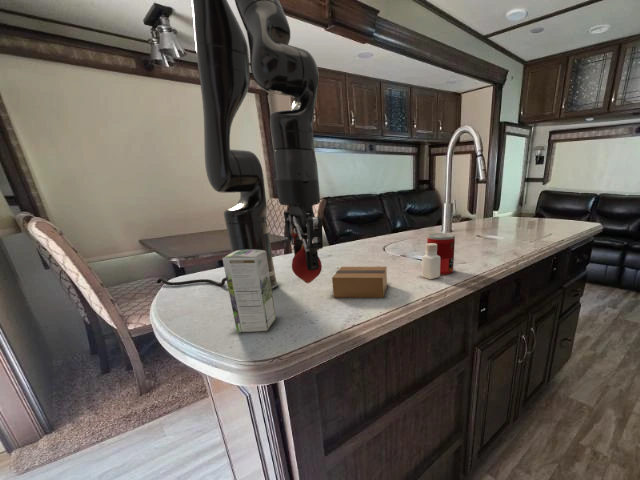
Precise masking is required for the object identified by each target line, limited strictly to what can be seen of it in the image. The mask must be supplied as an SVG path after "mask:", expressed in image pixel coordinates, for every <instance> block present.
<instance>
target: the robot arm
mask: <svg viewBox="0 0 640 480" xmlns="http://www.w3.org/2000/svg"><path fill="white" fill-rule="evenodd" d="M234 3H235V6H236V9H237V12H238V14H239V17H240V19H241V22H242V24H243V27H244V29H245V31H246V36H247V39H246V37H245V35H244V32H243V30H242V28H241V25H240V22H239V21H238V20H237V17H236V16H235V14H234V11H233V9H232V7H231V6H230V4H229V1H228V0H191V7H192V17H193V29H194V30H193V31H194V42H195V51H196V61H197V69H198V75H199V83H200V90H201V91H200V92H201V101H202V112H203V113H202V114H203V140H204V141H203V143H204V144H203V145H204V166H205V172H206V177H207V180H208V182H209V185H210V186H211V187H212V189H213V190H214V191H215V192H217V193H221V194H230V193H231V194H232V193H233V194H235V193H239V194H240V195H239V199H238V201H237V202H236V203H235V204H233V205H232V206H230V207H228V208H225V210H224V211H223V219H224V223H225V228H226V233H227V238H228V242H229V246H230V252H231V253H233V252H235V251H238V250H264V251H266V255H267V262H268V268H269V275H270V281H271V288H272V290H274V289H276V288H277V286H278V282H277V277H276V271H275V266H274V259H273V254H272V252H273V251H272V247H271V241H270V234H269V227H268V222H267V207H268V206H267V197H266V187H265V178H264V171H263V167H262V164H261V161H260V159H259V158H258V156H257V155H256V154H255V153H254V152H252V151H250V150H246V149H245V150H244V149H231V129H232V125H233V122H234V119H235V117H236V115H237V113H238V111H239V110H240V108H241V106H242V105H243V104H242V103H244V101H245V98H246V96H247V94H248V92H249V89H250V82H251V76H252V78H253V80H254V81H255V83H256V85H258V86H259V88H261V89H262V90H263V91H265V92H267V93H270V94H274V95H280V96H286V97H291V98H293V102H292V105H291V108H290V109H284V110H279V111H277V110H276V111H275V112H273V113H271V114H270V118H269V125H270V133H271V141H272V148H273V168H274V169H273V170H274V176H275V183H276V191H277V197H278V203H279V204H280V205H282V206H288V210H286V211H283V216H284V222H285V228H286V234H287V239H288V241H289V242H290V243H291V245H292V247H293V252H294V253H293V254H294V255H293V256H295V255H296V253H297V252H299V251H300V250H301V247H302V244H304V248H305V251H306V252H305V256H306V265H307V269H308V270H310V271H312V270H317V269H318V268H319V262H318V257H319V253H318V252H319V250H322V249H323V247H324V246H323V245H324V242H323V241H324V240H323V238H324V236H323V218H322V216H316V215H315V212H314V209H313V206H316V205H319V204H320V203H321V192H320V182H319V169H318V168H319V167H318V161H317V158H316V150H315V140H314V139H315V138H314V130H313V126H314V125H313V124H314V117H315V116H314V115H315V109H316V108H315V107H316V101H317V95H318V90H319V82H320V74H319V68H318V66H317V62H316V60H315V58H314V57H313V55H312V53H311V52H309V51H308V50H306V49H305V48H301V47H297V46H294V45H290V44H289V43H290V41H291V27H290V24H289V21H288V19H287V16H286V14H285V11H284V9H283V6H282V4H281V1H280V0H234ZM247 40H248V42H247ZM250 71H251V72H250ZM250 73H251V75H250ZM226 282H227V279H226V277H223V278H222V279H221V282H217V281H215V280H213V279H209V278H208V279H207V278H201V279H191V280H185V281H168V280H166V279H165V278H164V277H160V278H158V279H157V281H156V284H161V283H163V284H164V285H167V286H184V285H191V284H197V283H209V284H212V285H214V286H217V287H218V286H219V287H223V286H224V285H225V284H226Z"/></svg>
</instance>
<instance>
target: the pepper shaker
mask: <svg viewBox="0 0 640 480" xmlns="http://www.w3.org/2000/svg"><path fill="white" fill-rule="evenodd" d="M440 276H441V275H440V256H438V255H437V244H435V243H428V244H427V243H426V244H425V254H424V255H422V257H421V277H422V278H425V279H429V280H434V279H437V278H439V277H440Z"/></svg>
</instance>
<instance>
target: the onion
mask: <svg viewBox="0 0 640 480" xmlns="http://www.w3.org/2000/svg"><path fill="white" fill-rule="evenodd" d="M305 252H306V251H305V248H304V244H302V247H301V250H300V251H299V252H297V253H296V255H293V258H292V261H291V269H292V273H293V274H294V275H295V276H296V277H297V278H299V279H300V280H301V281H303V282H304V283H306V284H310V283H311V282H313V281H314V280H315V279H316V278H318V277H319V276H320V274H321V272H322V269H323V268H322V267H323V264H322V261H321V259H320V257H319V256H318V262H319V268H318V269H317V270H312V271H310V270H308V269H307V265H306V256H305Z"/></svg>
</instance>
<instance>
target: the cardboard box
mask: <svg viewBox="0 0 640 480" xmlns="http://www.w3.org/2000/svg"><path fill="white" fill-rule="evenodd" d="M387 267H388V266H341V267H340V268H339V269H338V270H337V271H336V272H335V274H334V275H333V276H332V277H331V281H332V283H331V284H332V293H333V298H351V299H352V298H353V299H355V298H359V299H360V298H361V299H363V298H367V299H368V298H371V299H372V298H374V299H377V298H378V299H381V298H382V299H383V298H384V296H385V293H386V290H387V286H388V273H387V271H388V269H387Z"/></svg>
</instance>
